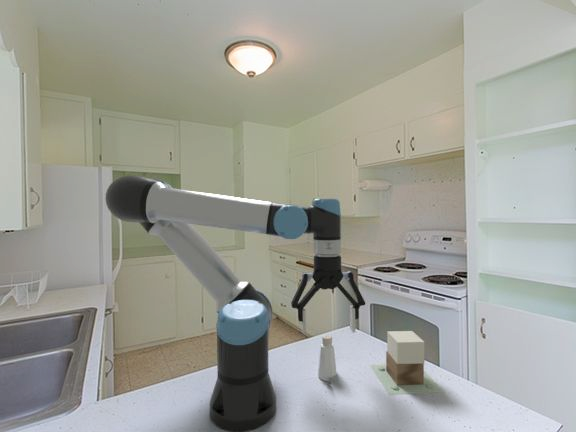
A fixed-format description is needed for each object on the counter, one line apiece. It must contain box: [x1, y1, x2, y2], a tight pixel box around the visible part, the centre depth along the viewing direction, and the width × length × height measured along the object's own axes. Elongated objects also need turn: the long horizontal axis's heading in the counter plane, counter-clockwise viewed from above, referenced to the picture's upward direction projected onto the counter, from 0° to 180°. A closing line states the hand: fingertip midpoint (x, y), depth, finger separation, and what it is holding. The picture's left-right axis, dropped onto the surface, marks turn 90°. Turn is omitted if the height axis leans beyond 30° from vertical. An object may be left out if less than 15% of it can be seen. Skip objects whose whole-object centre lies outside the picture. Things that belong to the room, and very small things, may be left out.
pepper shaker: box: [317, 334, 337, 382], centre depth 82 cm, size 5×5×11 cm
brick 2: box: [385, 351, 425, 386], centre depth 79 cm, size 7×7×6 cm
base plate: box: [369, 363, 445, 396], centre depth 80 cm, size 14×14×1 cm
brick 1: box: [386, 330, 425, 364], centre depth 79 cm, size 7×7×6 cm
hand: (328, 331), depth 82 cm, fingers open, 13 cm apart
